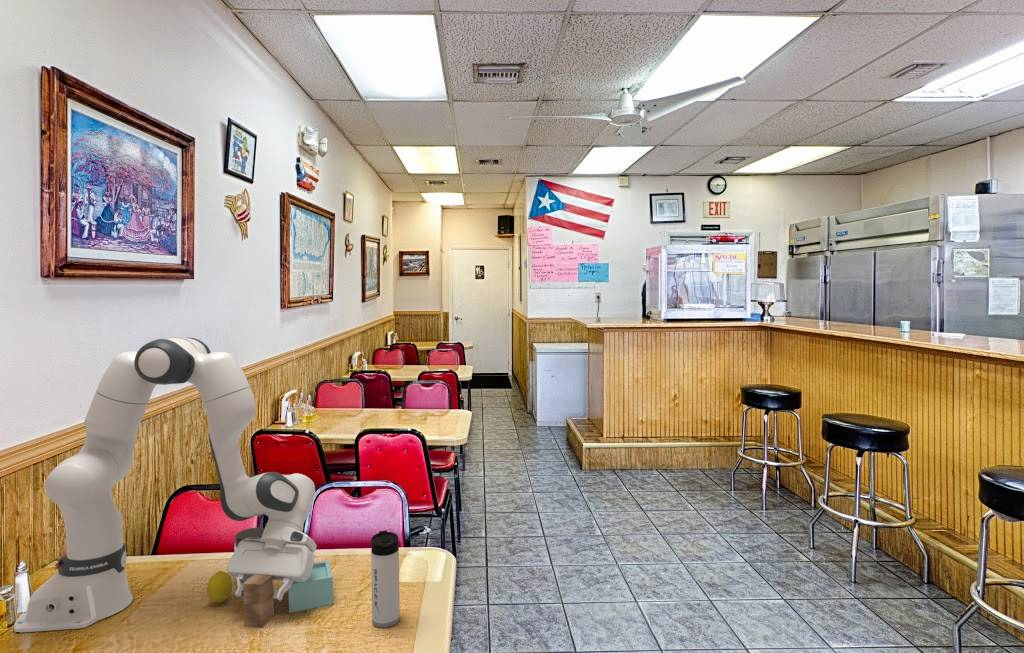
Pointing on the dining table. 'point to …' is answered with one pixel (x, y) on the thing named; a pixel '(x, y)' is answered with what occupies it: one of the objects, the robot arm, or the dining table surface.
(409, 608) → the dining table surface
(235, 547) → the jar
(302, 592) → the teal box
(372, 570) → the travel mug
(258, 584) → the walnut block
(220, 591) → the lemon
